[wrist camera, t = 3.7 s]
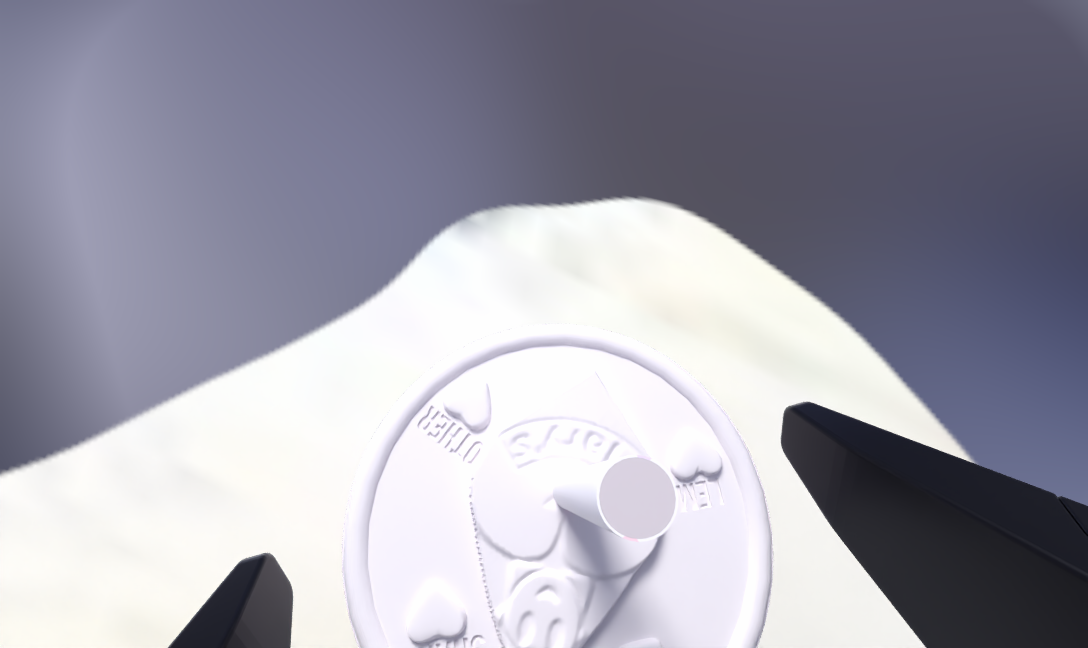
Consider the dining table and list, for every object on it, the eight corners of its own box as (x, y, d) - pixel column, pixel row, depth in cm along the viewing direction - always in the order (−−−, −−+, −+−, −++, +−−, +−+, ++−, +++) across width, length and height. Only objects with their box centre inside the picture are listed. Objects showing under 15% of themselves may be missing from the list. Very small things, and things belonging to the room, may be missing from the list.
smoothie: (648, 429, 18) (1077, 256, 4) (614, 638, 16) (1207, 1557, 2) (466, 386, 18) (316, 82, 4) (410, 587, 16) (-186, 1180, 2)
